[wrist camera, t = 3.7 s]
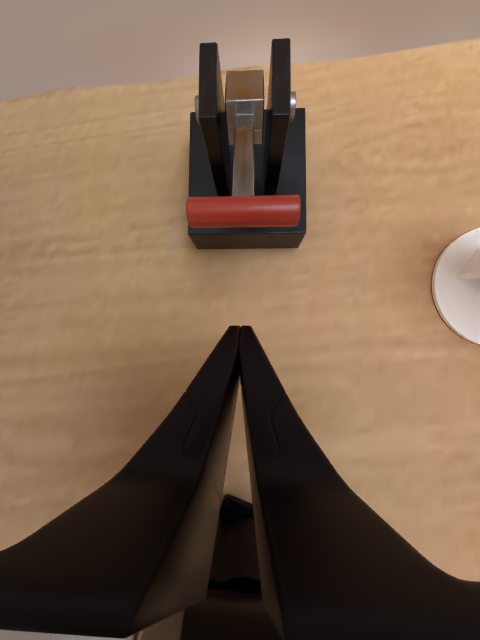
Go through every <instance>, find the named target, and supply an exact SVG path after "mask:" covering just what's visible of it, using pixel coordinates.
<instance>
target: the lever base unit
mask: <svg viewBox="0 0 480 640" xmlns="http://www.w3.org/2000/svg"><path fill="white" fill-rule="evenodd" d="M295 107H296V92H291V69H290V39H289V38H287V39H286V38H285V39H273V40H272V47H271V61H270V75H269V89H268V103H267V109H265V110H264V117H263V139H262V144H254V196H263V195H299V196H300V201H301V209H300V218H299V222H298V225H297V226H292V227H226V228H191V227H190V225H189V223H188V235H189V236H190V238H191V240H192V241H193V243H194V244H195V246H196V247H197V249H231V248H298V247H299V245H300V243H301V241H302V239H303V237H304V236H305V234H306V147H305V108H295ZM233 162H234V145H229V144H228V135H227V123H226V112H225V105H224V97H223V88H222V80H221V71H220V63H219V55H218V46H217V43H215V42H214V43H201V44H200V53H199V96H195V112H191V113H190V158H189V197H216V196H232V187H233Z"/></svg>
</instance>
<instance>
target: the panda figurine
mask: <svg viewBox="0 0 480 640" xmlns="http://www.w3.org/2000/svg"><path fill="white" fill-rule="evenodd" d="M432 294H433V299H434V302H435V305H436V308H437V310H438V312H439V314H440V316H441V317H442V319H443V320H444V321H445V323H446V324H447V325H448V326H449V327H450V328H451V329H452V330H453V331H454V332H455V333H457V334H458V335H459V336H461V337H462V338H464V339H466V340H468V341H470V342H472V343H475V344H478V345H480V228H478V229H475V230H472V231H470V232H467V233H465V234H463V235H461V236H460V237H458V238H456V239H455V240H454V241H452V242H451V243H450V244H449V245H448V246H447V247H446V248H445V249H444V251H443V252H442V253H441V255H440V257H439V258H438V260H437V262H436V265H435V268H434V271H433V276H432Z"/></svg>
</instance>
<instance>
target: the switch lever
mask: <svg viewBox="0 0 480 640" xmlns="http://www.w3.org/2000/svg"><path fill="white" fill-rule="evenodd" d="M225 112H226V123H227V135H228V144H229V145H234V162H233V187H232V196H216V197H189V198H187V202H186V213H187V219H188V223H189V225H190V227H191V228H226V227H292V226H297V225H298V222H299V218H300V209H301V201H300V196H299V195H263V196H254V144H262V139H263V117H264V71H263V70H248V71H227V73H226V88H225Z"/></svg>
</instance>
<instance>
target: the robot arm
mask: <svg viewBox="0 0 480 640" xmlns="http://www.w3.org/2000/svg"><path fill="white" fill-rule="evenodd" d="M239 381H240V383H241V394H242V403H243V413H244V423H245V433H246V443H247V453H248V463H249V472H250V482H251V492H252V502H253V505H252V504H249V503H247V502H245V501H242V500H240V499H237V498H235V497H233V496H230V495H226V496H225V497H224V498H223V501H222V503H221V504H220V502H221V498H222V492H223V485H224V479H225V472H226V466H227V459H228V453H229V447H230V440H231V434H232V427H233V421H234V414H235V408H236V402H237V395H238V389H239ZM226 501H230V503H226ZM220 505H221V506H220ZM0 640H480V582H475V581H465V580H461V579H458V578H455V577H453V576H451V575H449V574H447V573H445V572H444V571H442V570H441V569H439V568H437V567H436V566H434V565H433V564H432V563H431V562H429V561H428V560H427V559H426V558H425V557H423V556H422V555H421V554H420V553H419V552H418V551H417V550H416V549H415V548H414V547H412V546H411V545H410V544H409V543H408V542H407V541H406V540H405V539H404V538H403V537H402V536H401V535H399V534H398V533H397V532H396V531H395V530H394V529H393V528H392V527H391V526H390V525H389V524H388V523H386V522H385V521H384V520H383V519H382V518H381V517H380V516H379V515H378V514H377V513H376V512H375V511H373V510H372V509H371V508H370V507H369V506H368V505H367V504H366V503H365V502H364V501H363V500H362V499H360V498H359V497H358V496H357V495H356V494H355V493H354V492H353V491H352V490H351V489H350V488H349V487H348V485H347V484H346V483H345V482H344V481H343V479H342V478H341V477H340V476H339V474H338V473H337V471H336V470H335V469H334V467H333V466H332V464H331V463H330V461H329V460H328V459H327V457H326V456H325V454H324V453H323V451H322V450H321V448H320V447H319V446H318V444H317V443H316V441H315V440H314V438H313V437H312V435H311V434H310V432H309V431H308V429H307V428H306V426H305V425H304V423H303V422H302V420H301V419H300V417H299V415H298V414H297V412H296V410H295V408H294V407H293V405H292V403H291V401H290V399H289V397H288V395H287V394H286V392H285V390H284V388H283V386H282V384H281V382H280V380H279V378H278V377H277V375H276V373H275V371H274V369H273V367H272V365H271V363H270V361H269V359H268V357H267V356H266V354H265V352H264V350H263V348H262V346H261V344H260V342H259V340H258V338H257V336H256V335H255V333H254V331H253V329H252V327H251V326H241V327H240V326H229V328H228V329H227V330H226V332H225V333H224V335H223V336H222V338H221V339H220V341H219V342H218V344H217V345H216V347H215V348H214V350H213V351H212V353H211V354H210V355H209V357H208V358H207V360H206V361H205V363H204V364H203V366H202V367H201V369H200V370H199V372H198V373H197V375H196V376H195V378H194V379H193V380H192V382H191V383H190V385H189V386H188V388H187V389H186V392H184V394H183V395H182V396H181V398H180V399H179V401H178V402H177V404H176V405H175V406H174V408H173V409H172V411H171V412H170V413H169V415H168V416H167V417H166V418H165V419H164V421H163V422H162V423H161V424H160V426H159V427H158V428H157V429H156V430H155V432H154V433H153V434H152V435H151V436H150V437H149V439H148V440H147V441H146V442H145V443H144V445H143V446H142V447H141V448H140V449H139V450H138V452H137V453H136V454H135V455H134V456H133V457H132V459H131V460H130V461H129V462H128V463H127V464H126V465H125V467H124V468H123V469H122V470H121V471H120V472H119V473H117V474H116V475H115V476H114V477H113V478H112V479H111V480H109V481H108V482H107V483H105V484H104V485H103V486H101V487H100V488H98V489H97V490H95V491H94V492H93V493H91V494H90V495H88V496H87V497H85V498H84V499H82V500H81V501H80V502H78V503H77V504H75V505H74V506H72V507H71V508H69V509H68V510H66V511H65V512H64V513H62V514H61V515H59V516H58V517H56V518H55V519H53V520H52V521H51V522H49V523H48V524H46V525H45V526H43V527H42V528H40V529H39V530H37V531H36V532H35V533H33V534H32V535H30V536H29V537H27V538H25V539H24V540H22V541H21V542H19V543H17V544H15V545H13V546H11V547H9V548H7V549H5V550H2V551H0Z"/></svg>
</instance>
